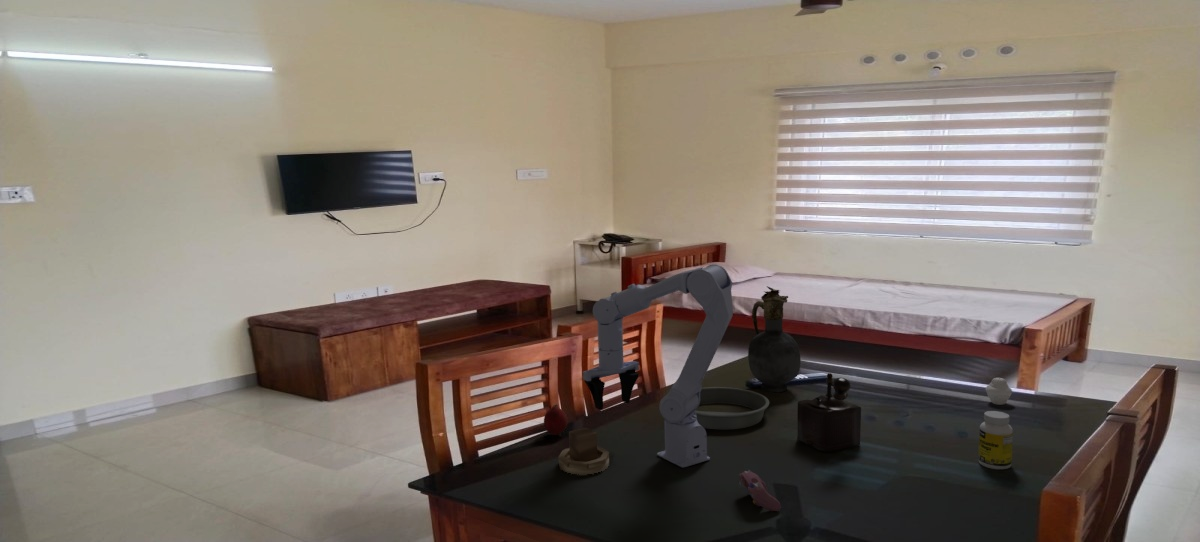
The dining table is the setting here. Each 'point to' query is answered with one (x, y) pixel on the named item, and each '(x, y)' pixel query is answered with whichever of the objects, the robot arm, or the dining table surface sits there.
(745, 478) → the pink animal figurine
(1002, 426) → the pill bottle
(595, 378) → the robot arm
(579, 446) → the walnut block
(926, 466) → the dining table surface
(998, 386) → the white rounded lump
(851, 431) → the manual coffee grinder
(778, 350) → the pitcher
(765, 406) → the cake pan
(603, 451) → the base
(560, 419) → the onion
